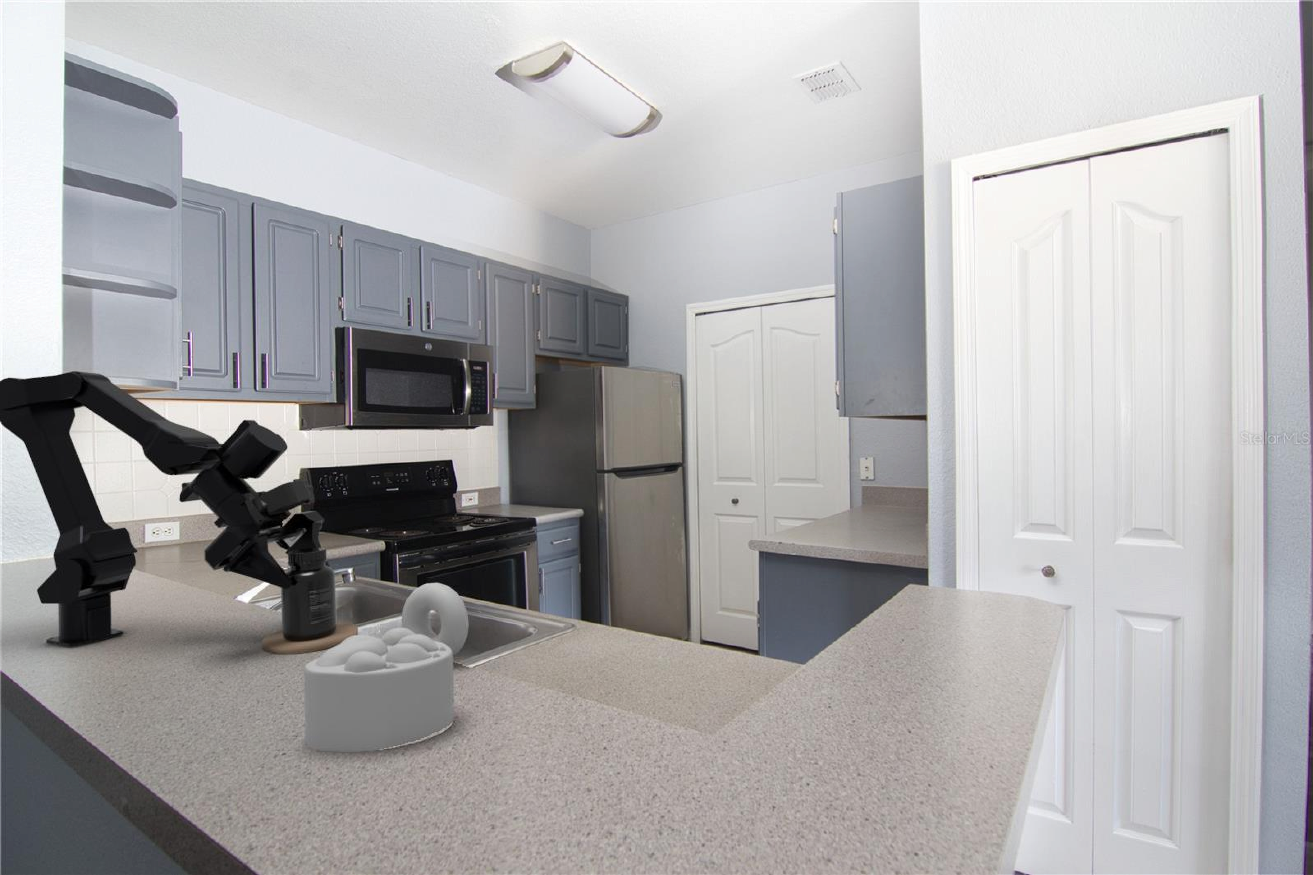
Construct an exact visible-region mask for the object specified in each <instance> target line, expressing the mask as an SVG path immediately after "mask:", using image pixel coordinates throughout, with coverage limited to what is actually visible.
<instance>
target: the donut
mask: <svg viewBox="0 0 1313 875" xmlns="http://www.w3.org/2000/svg"><path fill="white" fill-rule="evenodd" d="M432 610H433V611H434V612H435V613H436V614H437V616H438V618H439V620H440V631H439V633H438V634H437V633H435V632H434V630H433V629H432V627H431V624H430V614H431V611H432ZM469 623H470V622H469V616H468V610H467V608H466V606H465V603H464V601H463V599H462V598H461V597H460V595H459V593H458V592H457V591H455V590H454V589H453V588H452V587H450V586H448V585H446V584H443V583H440V582H430V583H429V582H427V583H425V584H422V585H420V586H418V587H417V588H416V589H414V590H413V591H412V592H411V594H410V595H409V596H408V597H407V599H406V601H405V602H404V606H403V608H402V614H401V628H407V629H409V630H411V631H412V632H414V633H415V634H421V635H425V636H427V637H429V638H430V639H432V640H433V641H437V642H441V643H444V644H446V645H447V646H448V647H450V649H451V650H452V652H453V657H455V656H456V655H457V654H458V653H459V652H460V651H461V649H462V648H463V647H464V644H465V642H466V640H467V637H468V633H469Z"/></svg>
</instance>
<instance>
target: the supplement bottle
mask: <svg viewBox="0 0 1313 875" xmlns="http://www.w3.org/2000/svg"><path fill="white" fill-rule="evenodd" d="M327 561H328V557H327V549H326V548H325V547H321V548H307V549H300V550H294V551H290V552H289V553H288V554H287V566H288V567H289V569H288V570H287V571H285V573H286V574H287V575H288V577H289V578H290V580H291V581H292V585H291V586H290V587H289V588H288V589H284V588H281V587H280V604H281V606H280V607H281V608H280V609H281V624H282V625H281V628H282V629H281V630H282V633H283V637H284V638H285V639H286V640H289V641H306V640H312V639H317V638H321V637H325V636H327V635H330V634H332V633H333V632H334V631H335V630H336V627H337V622H338V621H337V597H336V596H337V595H336V574H335V571H334V570H333V568H331V566H330V567H328V566H326V565H325V562H327Z"/></svg>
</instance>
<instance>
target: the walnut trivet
mask: <svg viewBox="0 0 1313 875" xmlns="http://www.w3.org/2000/svg"><path fill="white" fill-rule="evenodd" d="M354 635H359V628H358V626H357V625H356V624H354V623H350V622H342V621H340V622H339V621H337V627H336V630H335V631H334V632H333V633H332V634H330V635H327V636H325V637H321V638H317V639H312V640H306V641H289V640H286V639H285V638H284V637H283V633H282V629H281V630H280V629H279V630H278V631H275V632H272V633H270V634H268V635H266V636H265V637H264V638H263V639H262V640H261V648H262V651H265V652H266V653H268V654H269V653H270V654H275V655H276V654H279V655H291V654H292V655H294V654H308V653H314V652H319V651H323V650H324V651H325V650H329V649H331V648H333V647H335V646H337V645H339V644H341V643H342V642H343V641H344V640H345V639H347V638H348V637H351V636H354Z"/></svg>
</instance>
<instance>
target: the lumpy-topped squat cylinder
mask: <svg viewBox="0 0 1313 875" xmlns="http://www.w3.org/2000/svg"><path fill="white" fill-rule="evenodd" d="M303 671H304V674H303V677H304V682H303V683H304V687H303V688H304V744H305V746H306V747H307V746H308V748H309V749H311V750H314V751H321V752H340V753H362V752H361V751H369V752H375V751H374V750H380V749H384V748H389V747H393V746H398V745H402V744H405V743H408V742H414V741H416V740H420V739H421V738H424V737H427V736H429V735H431V734H432V733H435V732H439V731H440V730H442V729H443V728H446V727H447V726H449V725H450V724H451V723H452V722H453V719H454V720H455V714H454V713H455V711H454V710H455V709H454V708H455V707H454V705H455V703H454V656H453V652H452V650H451V649H450V647H448V646H447V645H446V644H444V643H441V642H437V641H433V640H432V639H430V638H429V637H427V636H425V635H421V634H415V633H414V632H412V631H411V630H409V629H407V628H402V627H394V628H391V629H389V630H387V631H386V632H385V633H384V634H383V635H382V637H379V638H378V637H375V636H371V635H367V634H358V635H354V636H351V637H348V638H347V639H345V640H344V641H343V642H342V643H341V644H339V645H337V646H335V647H333V648H329V649H326V651H324V652H323V653H322V654H321V655H320V656H319V657H317V658H315V659H312V660H311V661H310V662H308V663H307V664H306V665H305V666H304V670H303ZM359 751H360V752H359Z"/></svg>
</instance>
